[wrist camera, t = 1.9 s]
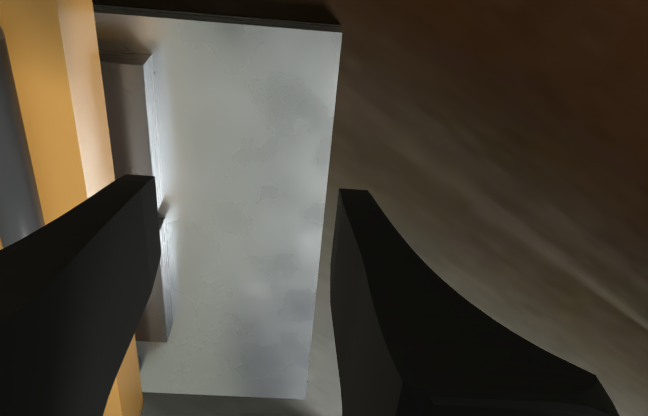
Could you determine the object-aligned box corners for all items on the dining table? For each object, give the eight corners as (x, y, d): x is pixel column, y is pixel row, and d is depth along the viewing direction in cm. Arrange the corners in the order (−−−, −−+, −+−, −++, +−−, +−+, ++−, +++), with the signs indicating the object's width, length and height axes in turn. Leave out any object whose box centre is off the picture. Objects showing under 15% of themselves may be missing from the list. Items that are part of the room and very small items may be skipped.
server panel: (305, 383, 29) (304, 429, 27) (-60, 365, 28) (-93, 411, 26) (340, 24, 19) (344, 48, 17) (-213, -22, 18) (-288, -4, 16)
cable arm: (146, 427, 26) (124, 502, 23) (65, 423, 26) (32, 498, 23) (86, -44, 15) (31, -18, 12) (-52, -56, 15) (-142, -33, 12)
